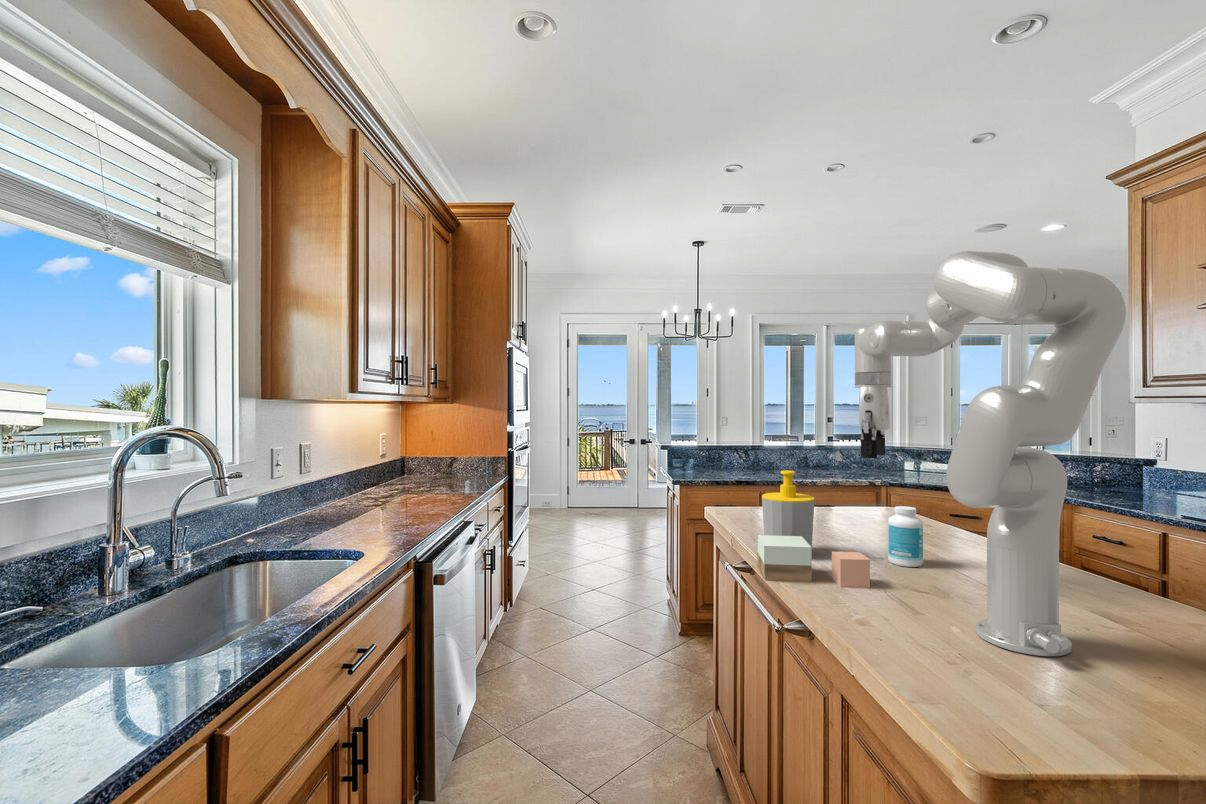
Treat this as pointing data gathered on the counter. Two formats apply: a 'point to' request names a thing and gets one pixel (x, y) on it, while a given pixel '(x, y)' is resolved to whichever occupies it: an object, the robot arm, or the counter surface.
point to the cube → (851, 569)
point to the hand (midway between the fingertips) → (873, 456)
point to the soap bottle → (788, 511)
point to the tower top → (784, 550)
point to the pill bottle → (905, 537)
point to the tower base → (784, 572)
